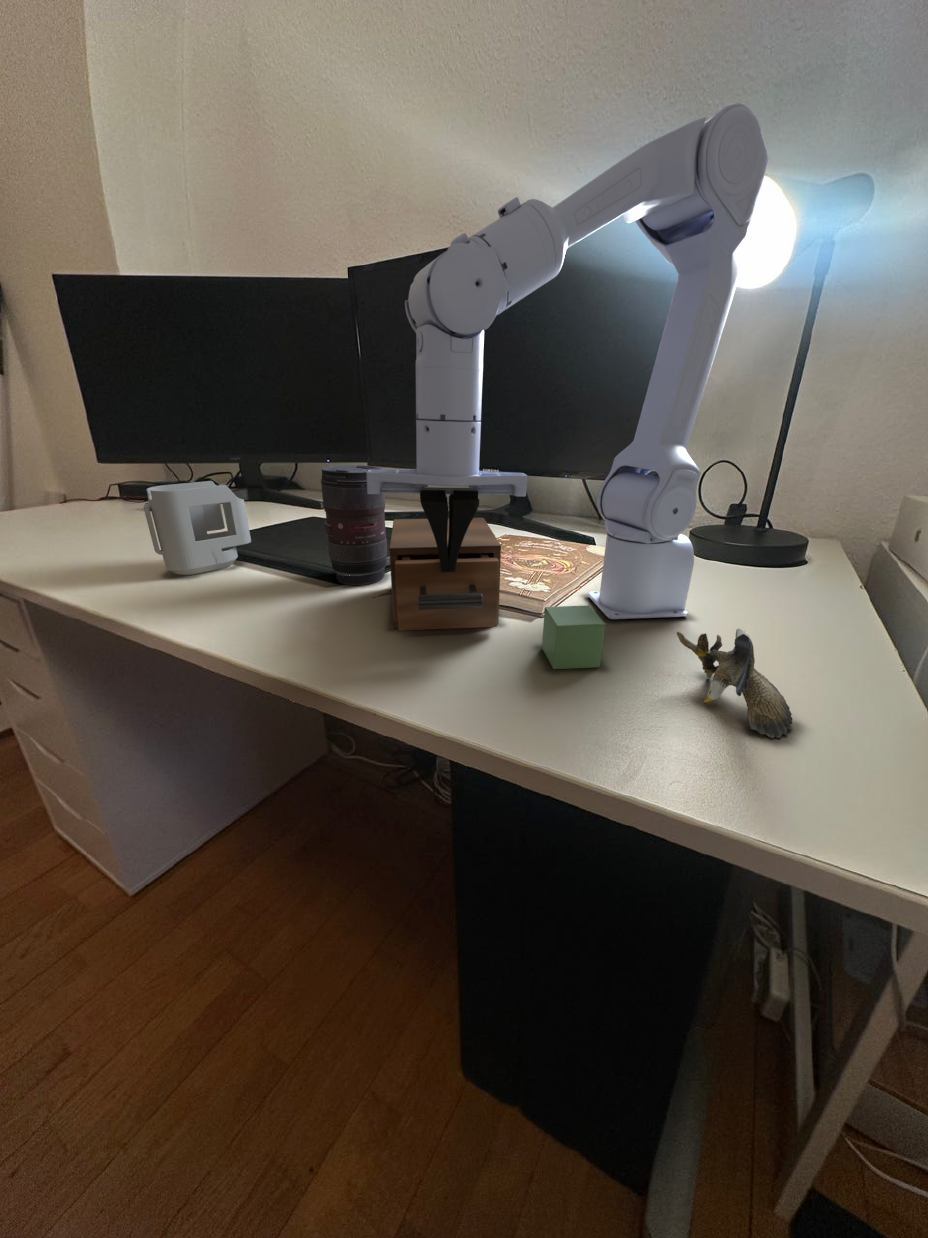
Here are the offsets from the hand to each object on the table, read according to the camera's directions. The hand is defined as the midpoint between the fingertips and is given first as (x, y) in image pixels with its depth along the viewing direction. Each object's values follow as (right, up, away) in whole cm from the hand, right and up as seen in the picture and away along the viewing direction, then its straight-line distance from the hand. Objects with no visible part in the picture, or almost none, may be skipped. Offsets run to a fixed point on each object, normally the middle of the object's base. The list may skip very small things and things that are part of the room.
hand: (446, 568), depth 49 cm
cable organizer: (-36, +3, +25) cm, 44 cm away
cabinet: (-1, -3, +12) cm, 12 cm away
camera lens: (-13, +1, +21) cm, 25 cm away
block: (+12, -9, -1) cm, 15 cm away
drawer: (0, -4, +7) cm, 8 cm away
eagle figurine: (+24, -12, -8) cm, 28 cm away
